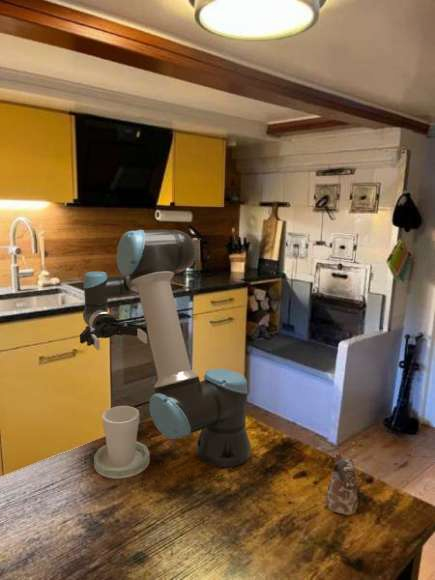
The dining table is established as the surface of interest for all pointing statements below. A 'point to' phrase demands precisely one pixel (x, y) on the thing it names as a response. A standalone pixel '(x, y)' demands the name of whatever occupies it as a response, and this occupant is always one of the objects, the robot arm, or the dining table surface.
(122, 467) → the ceramic saucer
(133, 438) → the foam cup
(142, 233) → the robot arm
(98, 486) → the dining table surface
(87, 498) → the dining table surface
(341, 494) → the figurine
